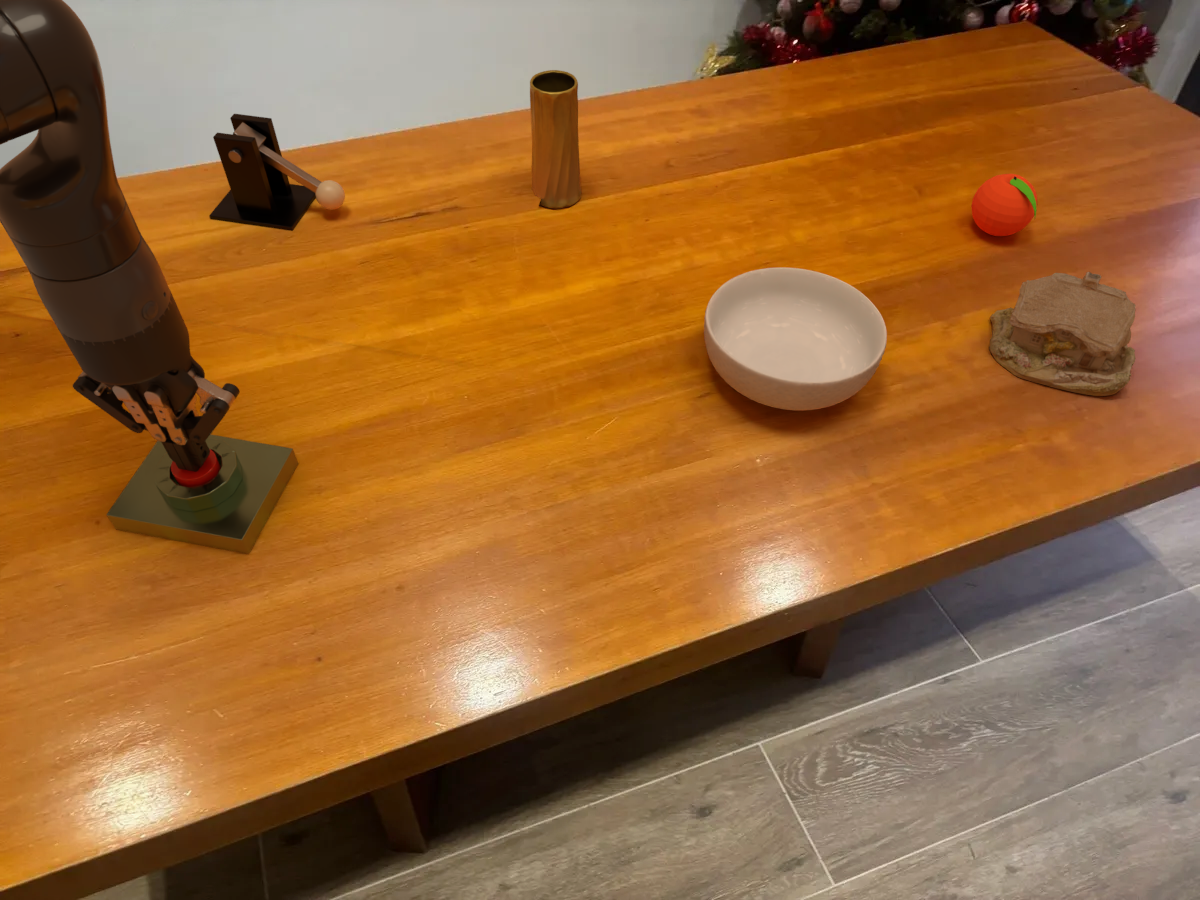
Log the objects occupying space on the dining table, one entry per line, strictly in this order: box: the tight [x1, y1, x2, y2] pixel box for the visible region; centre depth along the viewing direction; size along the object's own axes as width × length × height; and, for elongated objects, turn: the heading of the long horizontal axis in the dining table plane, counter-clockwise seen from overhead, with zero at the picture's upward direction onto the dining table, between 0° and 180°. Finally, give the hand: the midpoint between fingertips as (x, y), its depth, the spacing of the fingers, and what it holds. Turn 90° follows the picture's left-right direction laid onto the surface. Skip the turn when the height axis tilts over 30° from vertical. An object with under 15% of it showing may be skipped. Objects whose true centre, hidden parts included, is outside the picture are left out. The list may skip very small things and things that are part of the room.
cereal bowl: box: [703, 266, 888, 412], centre depth 87 cm, size 17×17×7 cm
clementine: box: [971, 173, 1038, 237], centre depth 103 cm, size 8×7×7 cm
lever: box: [232, 122, 346, 211], centre depth 100 cm, size 13×3×3 cm
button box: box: [106, 433, 299, 555], centre depth 77 cm, size 12×10×4 cm
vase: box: [529, 69, 583, 209], centre depth 103 cm, size 6×6×14 cm
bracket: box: [208, 113, 317, 232], centre depth 101 cm, size 10×8×11 cm
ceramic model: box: [989, 271, 1137, 397], centre depth 88 cm, size 14×11×10 cm
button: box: [171, 449, 221, 487], centre depth 76 cm, size 4×4×2 cm
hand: (193, 462), depth 75 cm, fingers closed
